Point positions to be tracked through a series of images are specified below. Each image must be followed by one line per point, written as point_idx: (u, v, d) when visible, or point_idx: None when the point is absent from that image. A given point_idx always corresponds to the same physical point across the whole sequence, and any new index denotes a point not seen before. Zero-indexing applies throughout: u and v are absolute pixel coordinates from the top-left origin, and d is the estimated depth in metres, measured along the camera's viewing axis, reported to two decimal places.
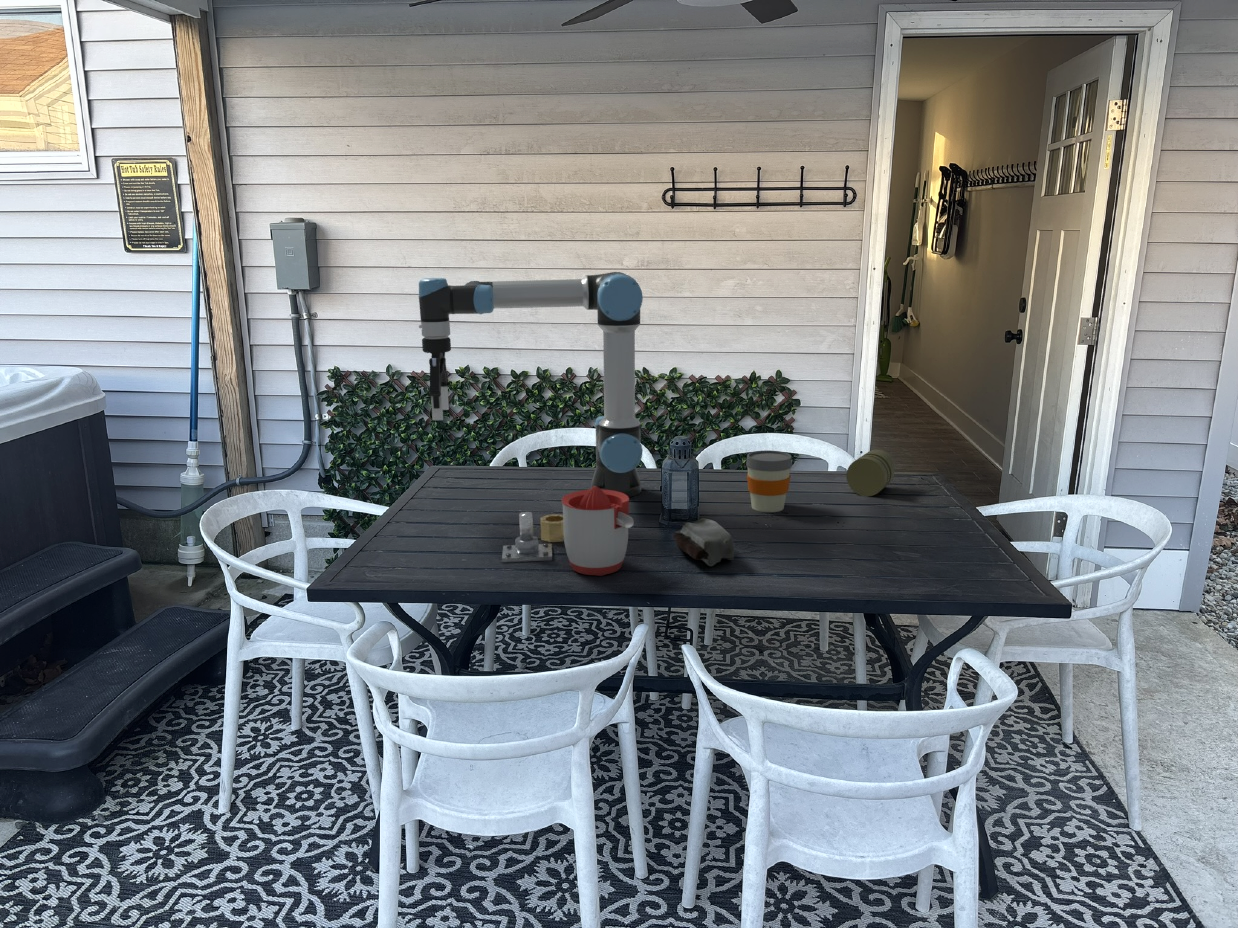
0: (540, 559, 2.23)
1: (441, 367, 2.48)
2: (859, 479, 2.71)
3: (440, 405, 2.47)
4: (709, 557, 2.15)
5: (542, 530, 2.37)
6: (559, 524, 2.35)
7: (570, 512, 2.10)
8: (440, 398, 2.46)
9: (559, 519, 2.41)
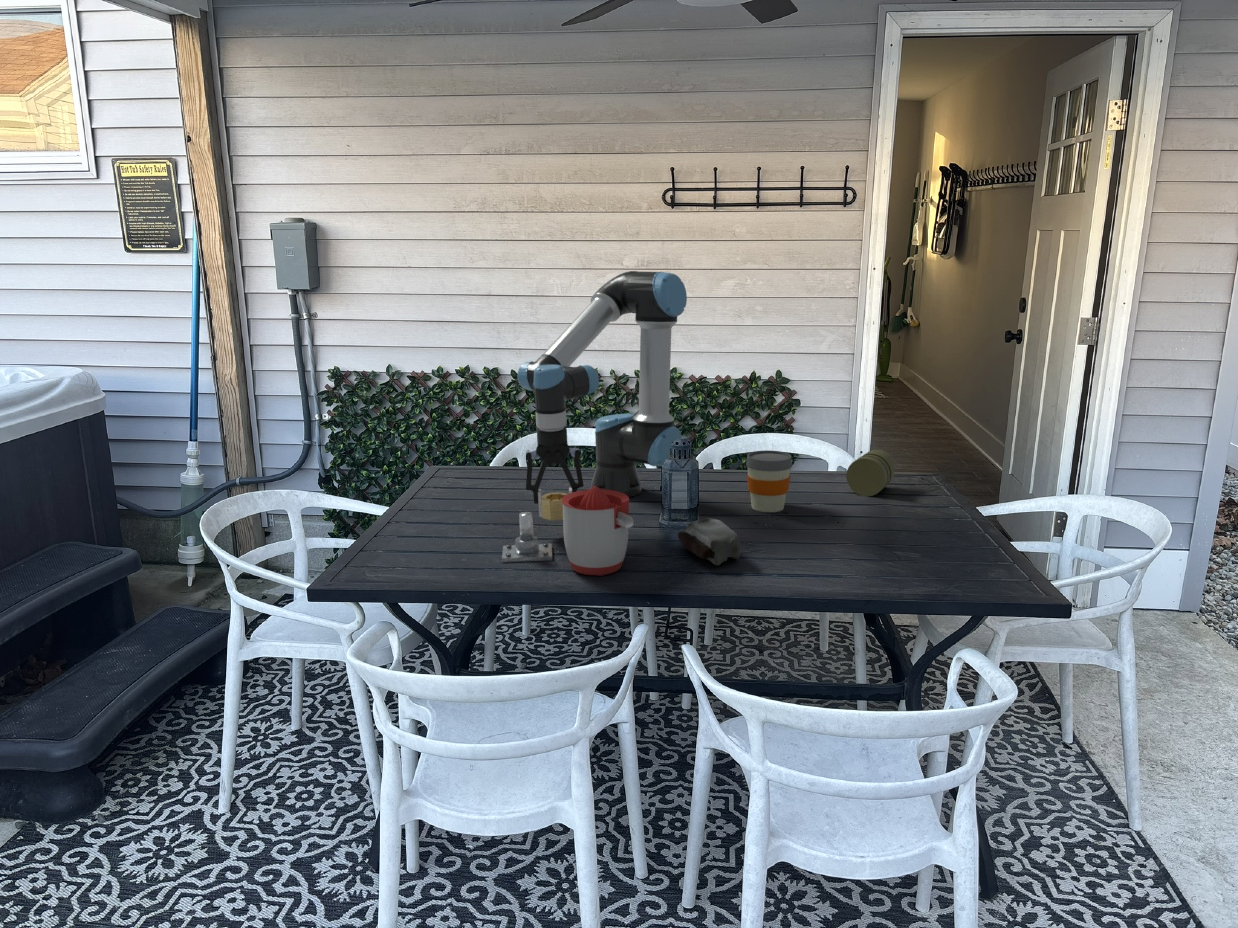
0: (540, 559, 2.23)
1: (542, 461, 2.33)
2: (859, 479, 2.71)
3: (538, 501, 2.36)
4: (715, 556, 2.16)
5: (543, 508, 2.36)
6: (560, 502, 2.34)
7: (570, 512, 2.10)
8: (538, 494, 2.36)
9: (560, 497, 2.40)
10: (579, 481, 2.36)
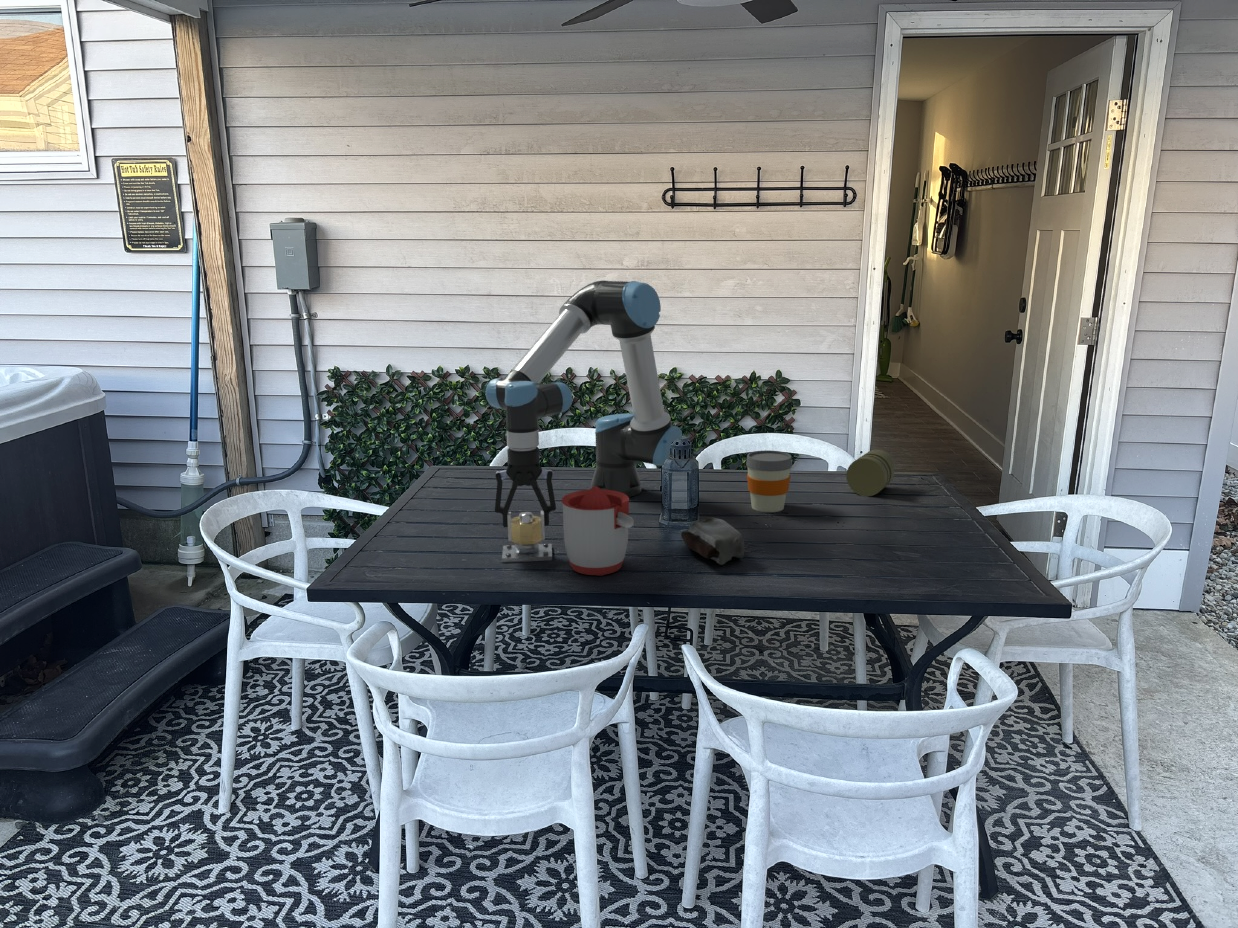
0: (540, 559, 2.23)
1: (513, 482, 2.21)
2: (859, 479, 2.71)
3: (507, 524, 2.24)
4: (720, 555, 2.16)
5: (513, 532, 2.24)
6: (530, 525, 2.22)
7: (570, 512, 2.10)
8: (507, 517, 2.24)
9: None
10: (551, 504, 2.24)
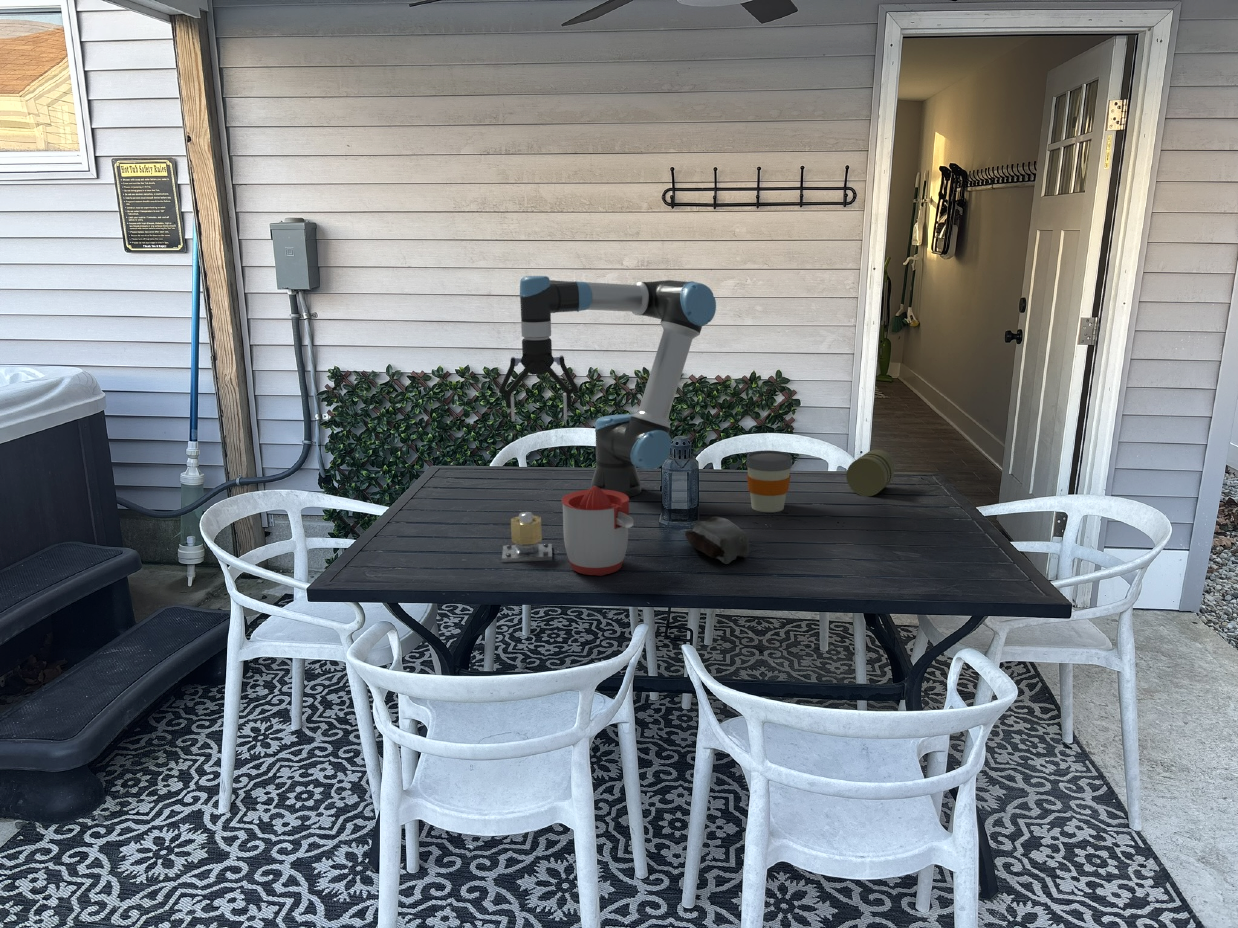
0: (540, 559, 2.23)
1: (525, 369, 2.38)
2: (859, 479, 2.71)
3: (510, 405, 2.40)
4: (725, 554, 2.17)
5: (513, 532, 2.24)
6: (530, 525, 2.22)
7: (570, 512, 2.10)
8: (510, 398, 2.39)
9: None
10: (572, 386, 2.40)
